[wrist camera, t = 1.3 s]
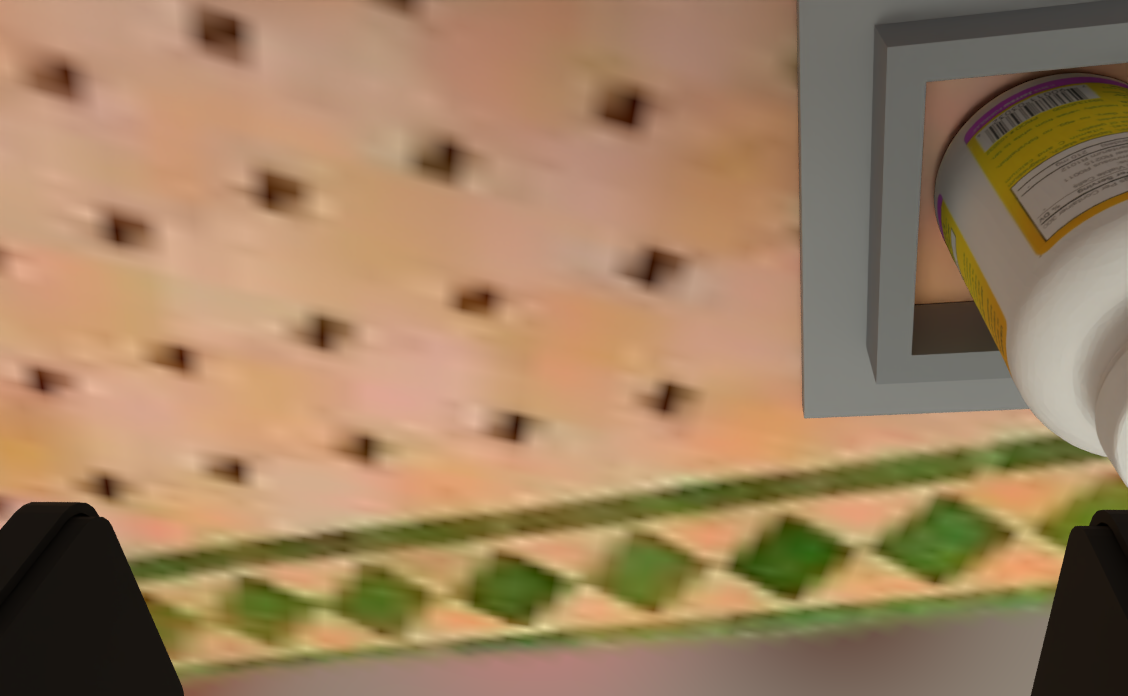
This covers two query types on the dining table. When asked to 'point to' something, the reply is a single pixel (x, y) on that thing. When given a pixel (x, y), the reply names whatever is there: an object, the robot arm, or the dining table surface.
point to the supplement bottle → (1050, 247)
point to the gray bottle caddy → (904, 189)
